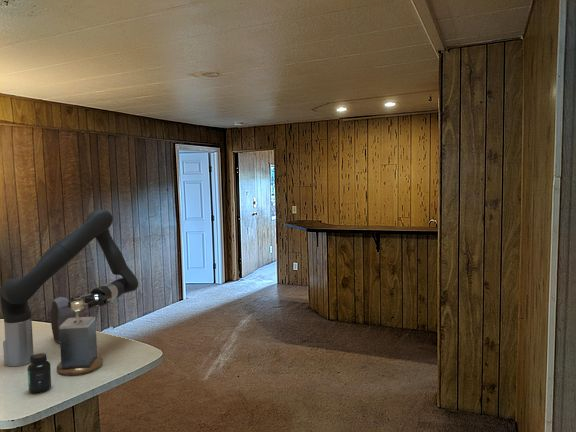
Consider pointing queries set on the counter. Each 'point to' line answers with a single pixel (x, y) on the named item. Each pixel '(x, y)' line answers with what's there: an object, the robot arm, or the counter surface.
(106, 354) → the counter surface
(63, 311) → the soft grey pack
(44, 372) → the supplement bottle
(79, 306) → the plunger
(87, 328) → the square holed block
